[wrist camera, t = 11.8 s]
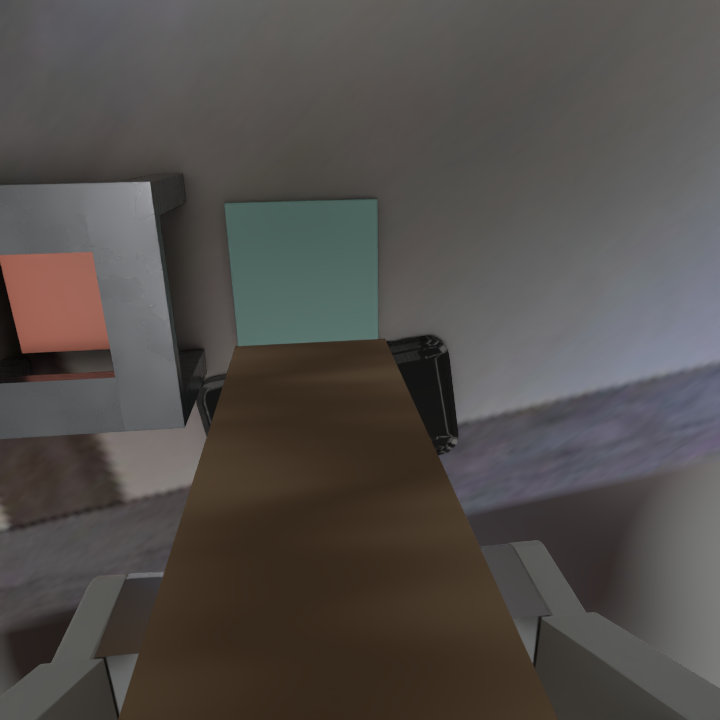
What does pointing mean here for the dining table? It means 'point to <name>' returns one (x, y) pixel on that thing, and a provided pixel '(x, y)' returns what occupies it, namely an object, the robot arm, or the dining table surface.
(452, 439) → the phone
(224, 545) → the peg
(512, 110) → the dining table surface
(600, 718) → the robot arm
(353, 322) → the mat
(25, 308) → the salmon pink panel
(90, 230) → the frame
